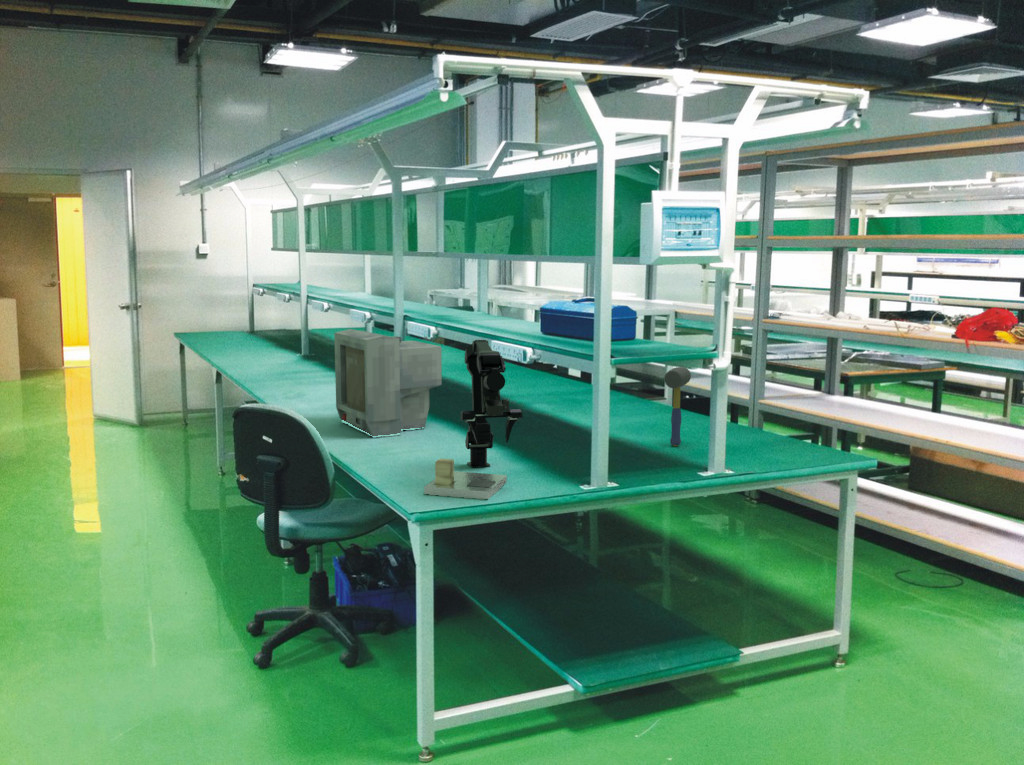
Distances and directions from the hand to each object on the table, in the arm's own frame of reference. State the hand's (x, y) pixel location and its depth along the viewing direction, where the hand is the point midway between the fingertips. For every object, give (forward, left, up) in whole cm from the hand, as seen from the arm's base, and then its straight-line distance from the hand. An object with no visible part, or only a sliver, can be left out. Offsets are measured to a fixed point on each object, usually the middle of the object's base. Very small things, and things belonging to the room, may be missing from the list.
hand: (492, 442), depth 267 cm
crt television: (-103, -7, -14) cm, 104 cm away
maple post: (0, -15, -14) cm, 21 cm away
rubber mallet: (-31, +85, -14) cm, 91 cm away
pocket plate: (0, -8, -14) cm, 16 cm away
